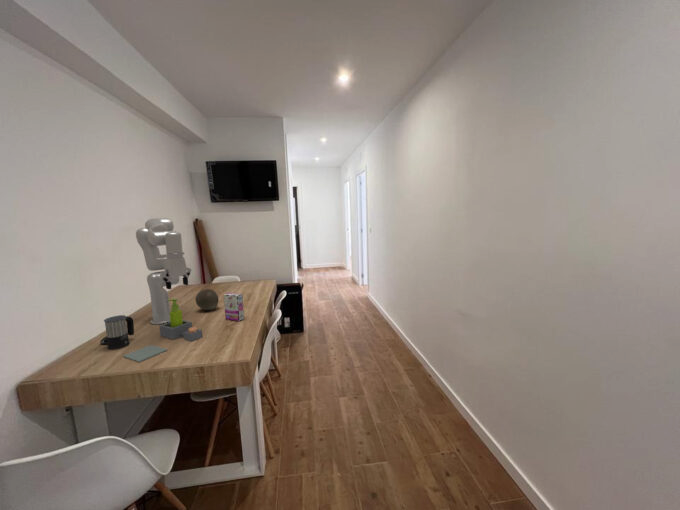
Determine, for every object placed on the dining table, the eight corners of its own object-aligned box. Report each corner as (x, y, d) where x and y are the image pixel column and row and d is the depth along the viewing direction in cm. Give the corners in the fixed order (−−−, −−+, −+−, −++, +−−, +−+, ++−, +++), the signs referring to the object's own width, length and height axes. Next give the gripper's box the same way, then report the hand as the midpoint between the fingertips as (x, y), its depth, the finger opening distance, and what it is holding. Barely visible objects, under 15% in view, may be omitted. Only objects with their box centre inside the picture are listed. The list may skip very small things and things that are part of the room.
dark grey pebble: (212, 306, 216) (210, 286, 214) (223, 309, 208) (221, 288, 206) (193, 311, 205) (191, 290, 203) (204, 315, 197) (202, 293, 195)
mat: (123, 356, 139) (123, 355, 139) (151, 345, 150) (151, 344, 150) (139, 362, 133) (139, 361, 133) (167, 350, 144) (167, 349, 144)
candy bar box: (244, 319, 187) (242, 293, 185) (239, 321, 182) (237, 295, 180) (230, 317, 191) (229, 292, 189) (225, 319, 187) (223, 294, 185)
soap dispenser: (172, 332, 168) (169, 298, 165) (185, 331, 168) (182, 297, 165) (167, 336, 162) (164, 301, 159) (180, 335, 162) (177, 300, 160)
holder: (160, 336, 162) (159, 325, 162) (179, 329, 172) (178, 319, 172) (187, 343, 152) (186, 332, 151) (206, 335, 162) (205, 324, 161)
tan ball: (187, 334, 157) (186, 328, 157) (193, 331, 161) (193, 326, 161) (192, 335, 156) (191, 330, 155) (198, 332, 159) (198, 327, 159)
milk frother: (123, 349, 147) (119, 320, 145) (88, 352, 145) (84, 323, 143) (138, 337, 161) (135, 311, 159) (106, 340, 159) (102, 313, 157)
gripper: (184, 253, 166) (187, 282, 169) (154, 257, 151) (157, 289, 153) (193, 253, 163) (196, 284, 165) (163, 258, 147) (166, 291, 150)
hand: (177, 286), depth 159 cm, fingers open, 9 cm apart
